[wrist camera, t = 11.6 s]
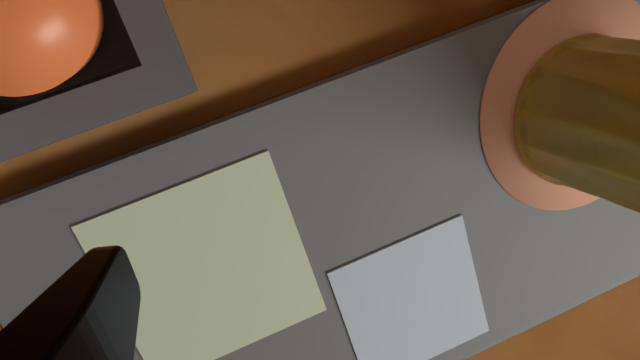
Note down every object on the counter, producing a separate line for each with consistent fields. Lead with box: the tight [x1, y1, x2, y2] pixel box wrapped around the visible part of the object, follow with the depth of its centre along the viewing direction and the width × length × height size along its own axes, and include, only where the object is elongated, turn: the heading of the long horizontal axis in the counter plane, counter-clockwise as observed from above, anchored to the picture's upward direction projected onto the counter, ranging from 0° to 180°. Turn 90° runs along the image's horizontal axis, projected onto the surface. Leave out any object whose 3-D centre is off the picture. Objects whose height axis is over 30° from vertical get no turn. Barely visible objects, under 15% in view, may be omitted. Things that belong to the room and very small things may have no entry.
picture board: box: [0, 0, 640, 360], centre depth 22 cm, size 28×14×1 cm, turn 108°
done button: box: [0, 0, 104, 97], centre depth 13 cm, size 4×4×2 cm
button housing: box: [0, 0, 198, 162], centre depth 15 cm, size 7×7×2 cm
